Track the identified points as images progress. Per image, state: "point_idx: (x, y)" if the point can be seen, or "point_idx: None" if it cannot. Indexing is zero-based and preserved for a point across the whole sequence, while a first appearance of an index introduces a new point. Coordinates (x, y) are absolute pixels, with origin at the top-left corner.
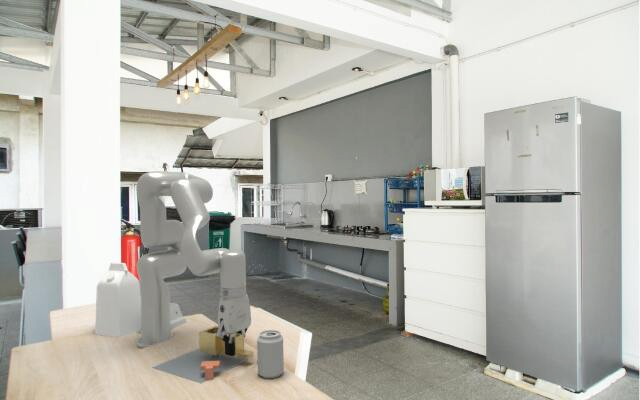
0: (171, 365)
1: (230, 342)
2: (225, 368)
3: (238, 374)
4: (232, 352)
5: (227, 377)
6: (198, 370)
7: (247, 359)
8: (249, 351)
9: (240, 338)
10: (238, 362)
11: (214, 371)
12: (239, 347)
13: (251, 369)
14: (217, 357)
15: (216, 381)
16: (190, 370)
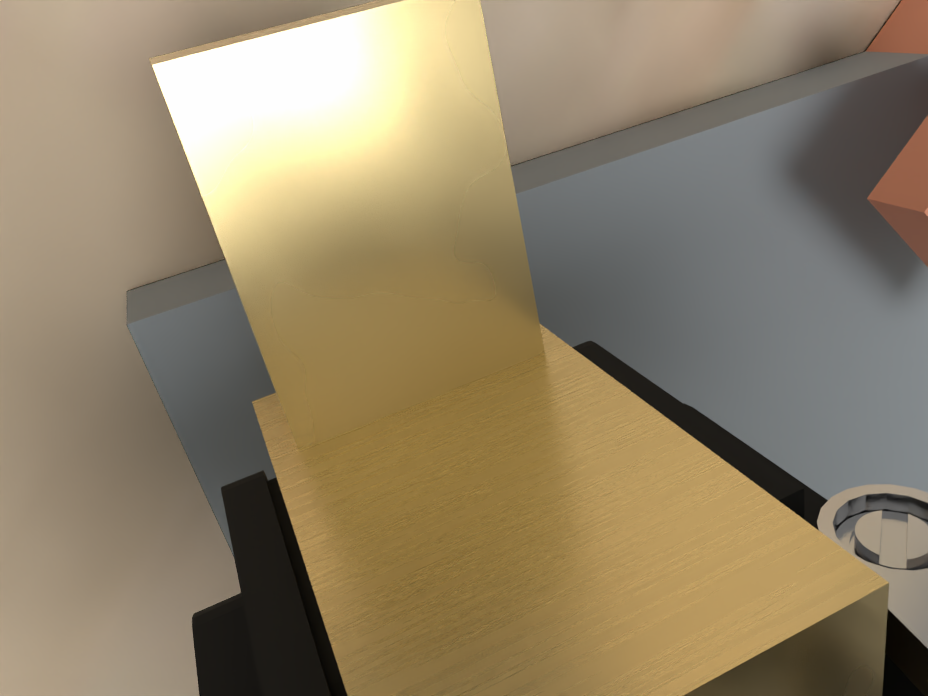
0: None
1: (857, 521)
2: (662, 223)
3: (506, 22)
4: (631, 372)
5: (674, 56)
6: (879, 395)
7: (149, 342)
8: (243, 184)
9: (537, 640)
10: None
11: (809, 231)
12: (468, 442)
13: (206, 35)
14: None
15: (827, 52)
16: (913, 448)
